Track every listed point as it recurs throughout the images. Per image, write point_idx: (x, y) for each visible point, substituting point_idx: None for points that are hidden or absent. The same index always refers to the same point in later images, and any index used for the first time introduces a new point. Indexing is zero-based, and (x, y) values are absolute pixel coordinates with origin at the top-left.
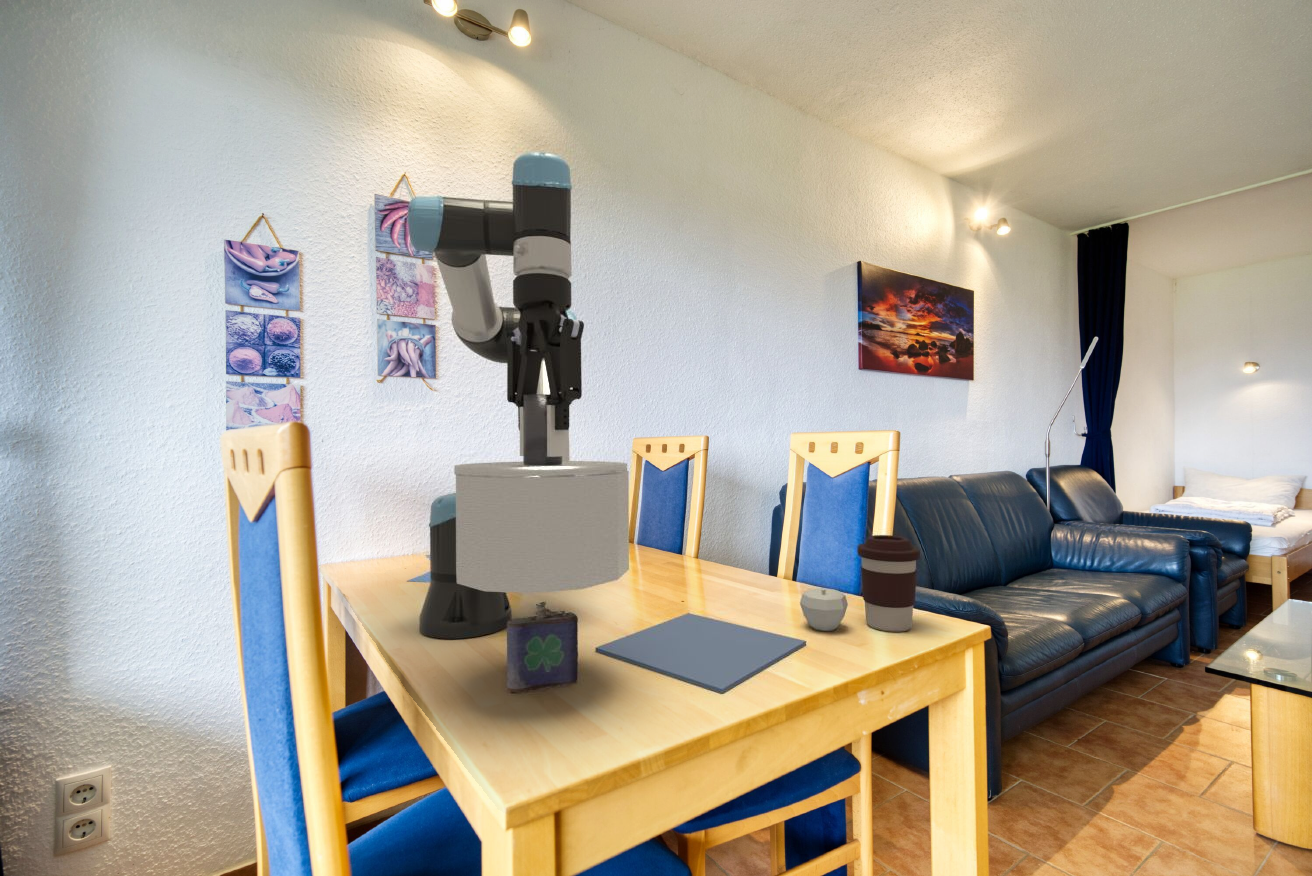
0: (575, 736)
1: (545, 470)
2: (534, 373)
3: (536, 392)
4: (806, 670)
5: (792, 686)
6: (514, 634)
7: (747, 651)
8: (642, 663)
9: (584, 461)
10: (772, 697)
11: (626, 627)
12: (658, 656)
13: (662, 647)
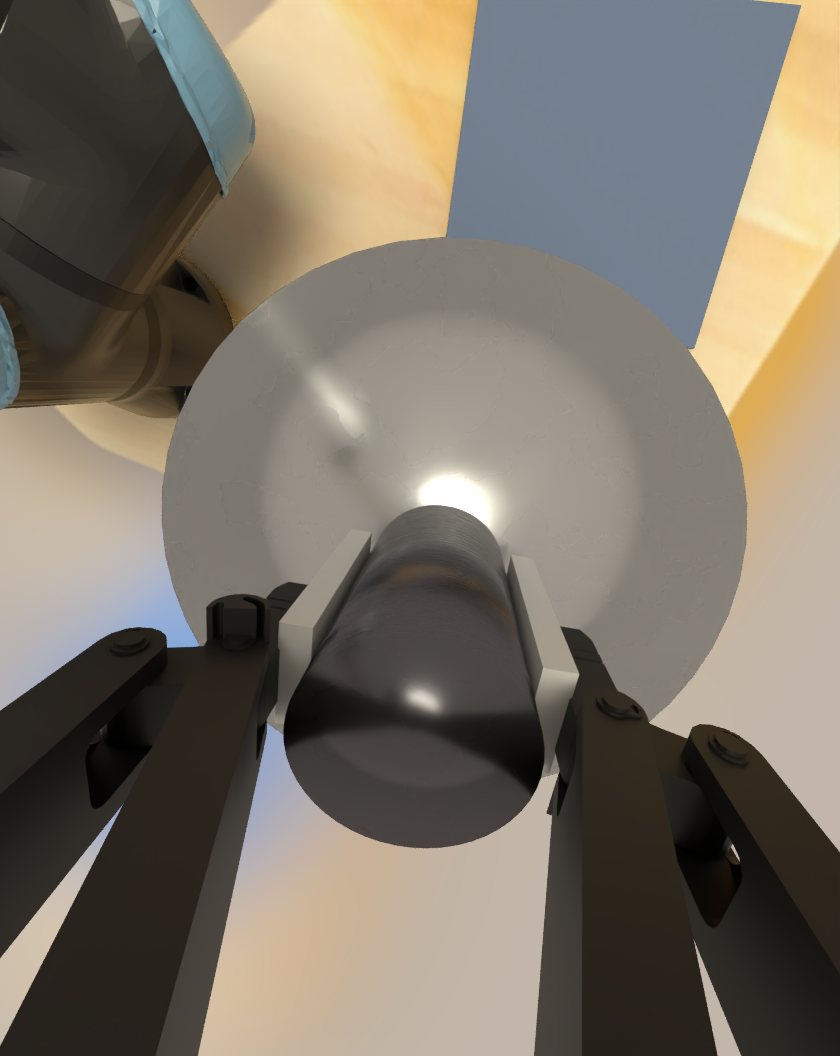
0: None
1: None
2: (212, 892)
3: (254, 697)
4: (807, 171)
5: (790, 259)
6: None
7: (692, 161)
8: None
9: (403, 279)
10: (765, 317)
11: (405, 158)
12: None
13: (537, 241)
